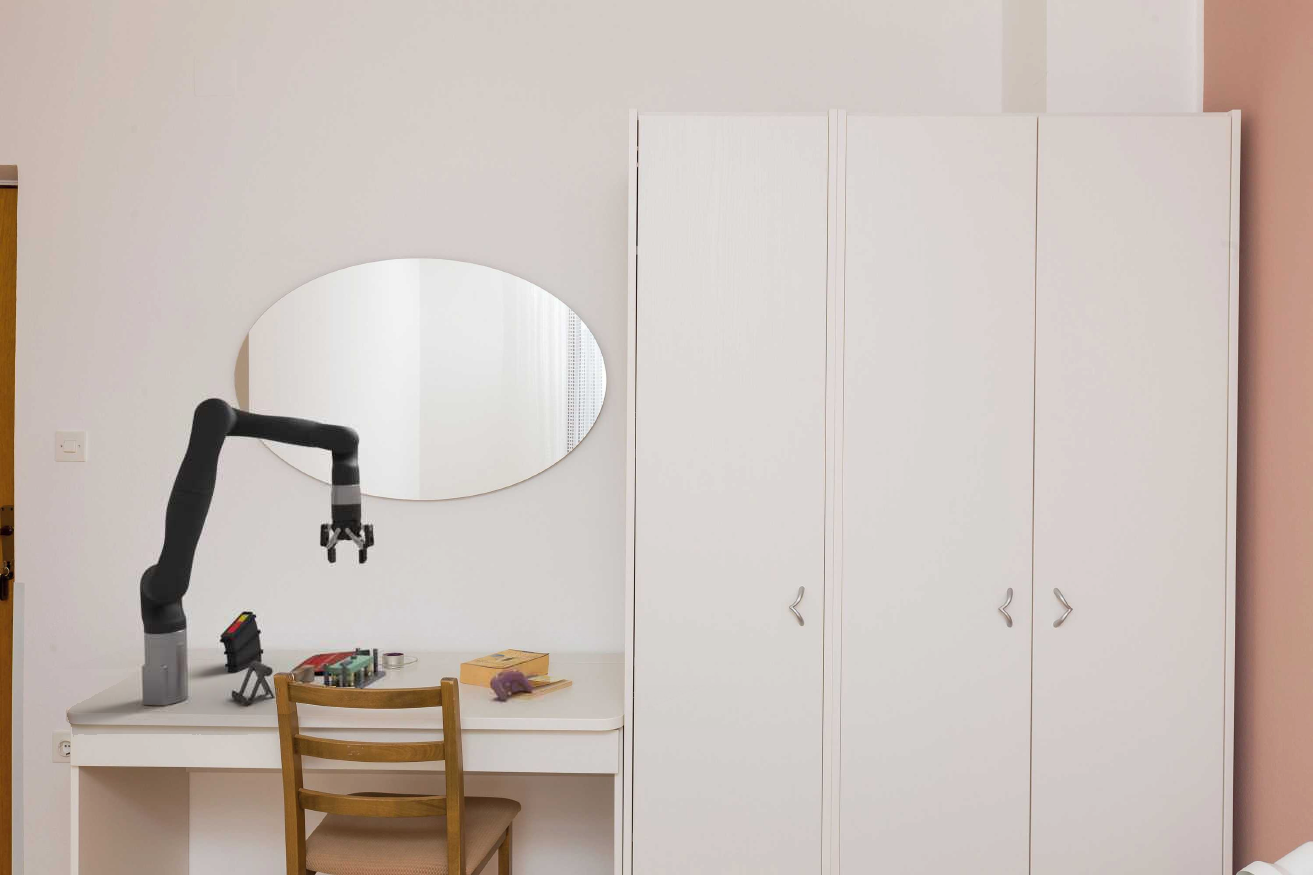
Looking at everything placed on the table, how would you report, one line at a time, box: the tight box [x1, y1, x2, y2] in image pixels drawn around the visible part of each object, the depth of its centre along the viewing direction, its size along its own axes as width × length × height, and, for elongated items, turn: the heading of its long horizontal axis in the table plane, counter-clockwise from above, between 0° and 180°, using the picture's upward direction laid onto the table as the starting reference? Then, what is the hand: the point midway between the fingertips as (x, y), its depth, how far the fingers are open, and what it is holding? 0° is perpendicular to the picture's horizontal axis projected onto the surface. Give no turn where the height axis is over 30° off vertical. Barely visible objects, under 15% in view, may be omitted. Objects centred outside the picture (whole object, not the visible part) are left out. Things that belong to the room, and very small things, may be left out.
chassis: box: [322, 647, 387, 689], centre depth 237 cm, size 17×10×7 cm, turn 169°
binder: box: [291, 649, 371, 677], centre depth 255 cm, size 16×2×21 cm
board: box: [329, 655, 374, 675], centre depth 237 cm, size 12×6×2 cm, turn 169°
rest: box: [288, 665, 315, 684], centre depth 237 cm, size 8×2×4 cm, turn 169°
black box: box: [219, 610, 264, 673], centre depth 254 cm, size 4×13×15 cm, turn 168°
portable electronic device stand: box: [231, 661, 275, 707], centre depth 225 cm, size 9×8×8 cm
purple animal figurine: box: [489, 669, 533, 702], centre depth 226 cm, size 10×5×7 cm, turn 141°
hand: (347, 562), depth 244 cm, fingers open, 8 cm apart
